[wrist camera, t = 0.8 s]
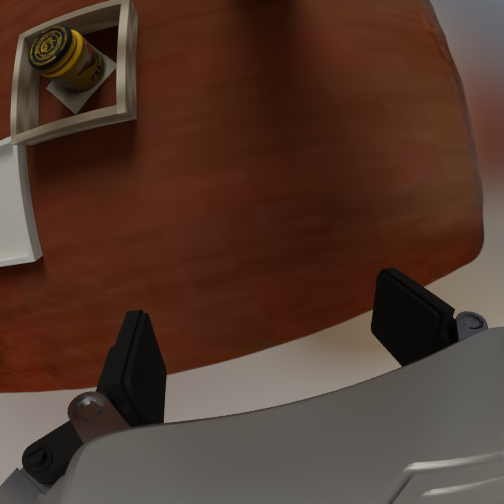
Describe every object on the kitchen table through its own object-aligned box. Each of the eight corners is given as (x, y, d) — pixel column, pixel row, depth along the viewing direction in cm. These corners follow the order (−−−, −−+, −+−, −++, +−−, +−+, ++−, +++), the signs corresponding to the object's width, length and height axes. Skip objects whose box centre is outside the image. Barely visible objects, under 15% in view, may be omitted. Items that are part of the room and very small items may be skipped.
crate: (38, 46, 23) (19, 34, 18) (138, 15, 26) (130, -5, 20) (33, 145, 28) (11, 145, 23) (137, 119, 31) (125, 112, 25)
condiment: (118, 65, 28) (88, 31, 17) (76, 115, 29) (31, 101, 18) (87, 41, 25) (52, 7, 14) (47, 89, 26) (0, 71, 15)
